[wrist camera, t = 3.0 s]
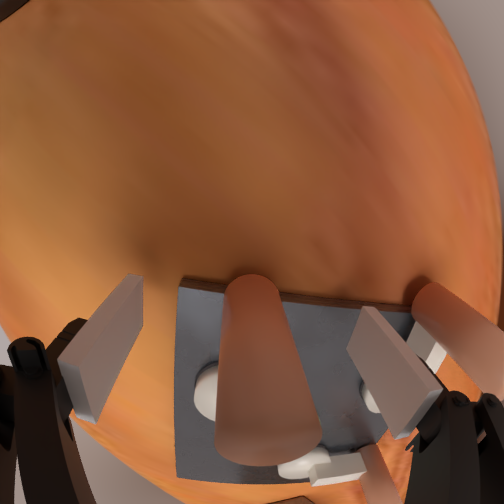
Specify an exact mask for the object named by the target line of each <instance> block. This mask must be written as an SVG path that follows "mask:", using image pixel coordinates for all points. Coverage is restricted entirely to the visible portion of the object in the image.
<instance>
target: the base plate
mask: <svg viewBox="0 0 504 504" xmlns="http://www.w3.org/2000/svg"><path fill="white" fill-rule="evenodd" d="M227 287H228V285H223V284H217V283H210V282H204V281H197V280H191V279H185V278H182V280H181V282H180V285H179V288H178V302H177V317H176V337H175V366H174V427H175V455H176V472H177V477H178V478H185V479H192V480H199V481H208V482H219V483H233V484H288V483H303V482H310V479H309V477H308V478H302V479H286V478H283V477H281V476H280V475H279V473H278V466H277V465H273V466H248V465H242V464H238V463H235V462H232V461H230V460H228V459H226V458H224V457H223V456H221V455H220V454H219V453H218V452H217V450H216V448H215V445H214V435H215V421H213V420H210V419H208V418H207V417H205V416H204V415H202V414H201V413H200V412H199V411H198V409H197V408H196V406H195V403H194V394H195V387H196V382H197V379H198V378H199V376H200V375H201V374H202V373H203V372H204V371H205V370H207V369H208V368H211V367H213V366H216V365H219V351H220V337H221V324H222V311H223V299H224V293H225V290H226V288H227ZM279 295H280V298H281V301H282V305H283V308H284V311H285V314H286V317H287V320H288V323H289V326H290V329H291V332H292V335H293V339H294V342H295V345H296V348H297V351H298V354H299V357H300V361H301V364H302V367H303V370H304V373H305V376H306V380H307V383H308V386H309V389H310V392H311V396H312V399H313V402H314V405H315V408H316V412H317V415H318V418H319V421H320V425H321V428H322V438H321V440H320V442H319V444H318V445H317V446H316V447H321V448H325V449H326V450H327V451H328V453H329V456H337V455H345V454H352V453H354V452H356V451H357V450H359V449H360V448H362V447H365V446H368V445H372V444H376V443H377V442H378V440H379V439H380V438H381V437H382V435H383V434H384V433H385V432H386V430H387V429H388V426H387V424H386V422H385V420H384V418H383V416H382V414H381V413H374V412H371V411H370V410H369V409H368V407H367V405H366V403H365V401H364V399H363V397H362V388H363V385H364V383H365V382H364V381H363V379H362V377H361V375H360V373H359V371H358V370H357V368H356V366H355V364H354V362H353V360H352V359H351V357H350V355H349V353H348V351H347V350H346V348H347V346H348V343H349V341H350V338H351V336H352V333H353V331H354V328H355V325H356V323H357V320H358V317H359V315H360V312H361V309H362V306H369V307H375V308H376V309H377V310H378V311H379V312H380V314H381V315H382V316H383V317H384V318H385V319H386V320H387V321H388V323H389V324H390V325H391V326H392V327H393V328H394V329H395V331H396V332H397V333H398V334H399V335H400V336H401V338H402V339H403V340H404V341H405V342H407V339H408V337H409V335H410V333H411V331H412V328H413V326H414V324H415V322H416V321H415V320H414V318H413V317H412V313H411V308H412V306H406V305H394V304H383V303H372V302H361V301H351V300H342V299H332V298H323V297H314V296H306V295H298V294H289V293H281V292H279Z"/></svg>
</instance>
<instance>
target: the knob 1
mask: <svg viewBox="0 0 504 504" xmlns="http://www.w3.org/2000/svg"><path fill="white" fill-rule="evenodd" d="M194 403H195V406H196V408H197V409H198V411H199V412H200V413H201V414H202V415H204V416H205V417H207V418H208V419H210V420H213V421H215V435H214V445H215V448H216V450H217V452H218V453H219V454H220V455H221V456H223V457H224V458H226V459H228V460H230V461H232V462H235V463H238V464H242V465H248V466H273V465H279V464H284V463H287V462H291V461H293V460H296V459H298V458H301V457H302V456H304V455H306V454H308V453H309V452H310V451H312V450H313V449H314V448H315V447H316V446H317V445H318V444H319V442H320V440H321V438H322V428H321V425H320V421H319V418H318V415H317V412H316V408H315V405H314V402H313V399H312V396H311V392H310V389H309V386H308V383H307V380H306V376H305V373H304V370H303V367H302V364H301V361H300V357H299V354H298V351H297V348H296V345H295V342H294V339H293V335H292V332H291V329H290V326H289V323H288V320H287V317H286V314H285V311H284V308H283V305H282V301H281V298H280V295H279V292H278V290H277V287H276V286H275V284H274V283H273V282H272V281H271V280H269V279H268V278H266V277H264V276H261V275H257V274H248V275H243V276H240V277H238V278H236V279H235V280H233V281H232V282H231V283H230V284H229V285H228V287H227V288H226V290H225V293H224V299H223V311H222V324H221V337H220V351H219V365H216V366H213V367H211V368H208V369H207V370H205V371H204V372H203V373H202V374H201V375H200V376H199V378H198V379H197V382H196V387H195V394H194Z"/></svg>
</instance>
